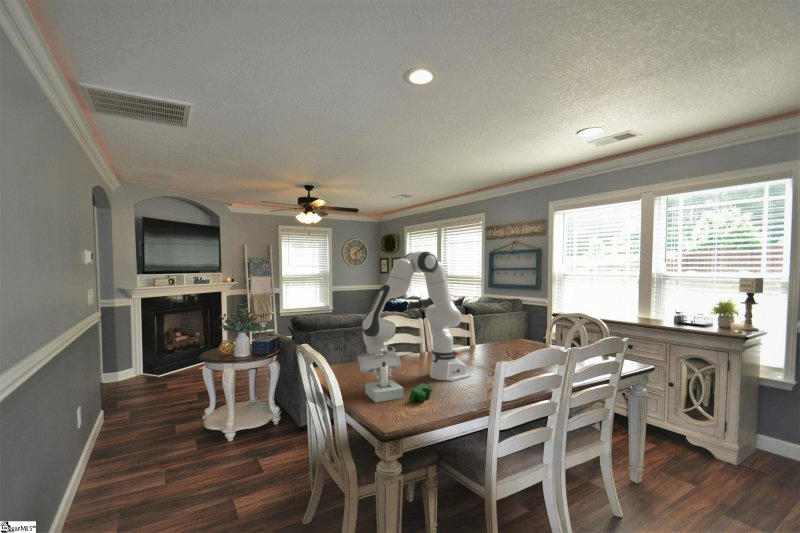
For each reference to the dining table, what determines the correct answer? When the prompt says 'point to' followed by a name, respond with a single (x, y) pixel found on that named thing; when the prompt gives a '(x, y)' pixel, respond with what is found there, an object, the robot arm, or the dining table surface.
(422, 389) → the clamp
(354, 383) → the dining table surface
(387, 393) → the housing
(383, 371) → the white bottle
